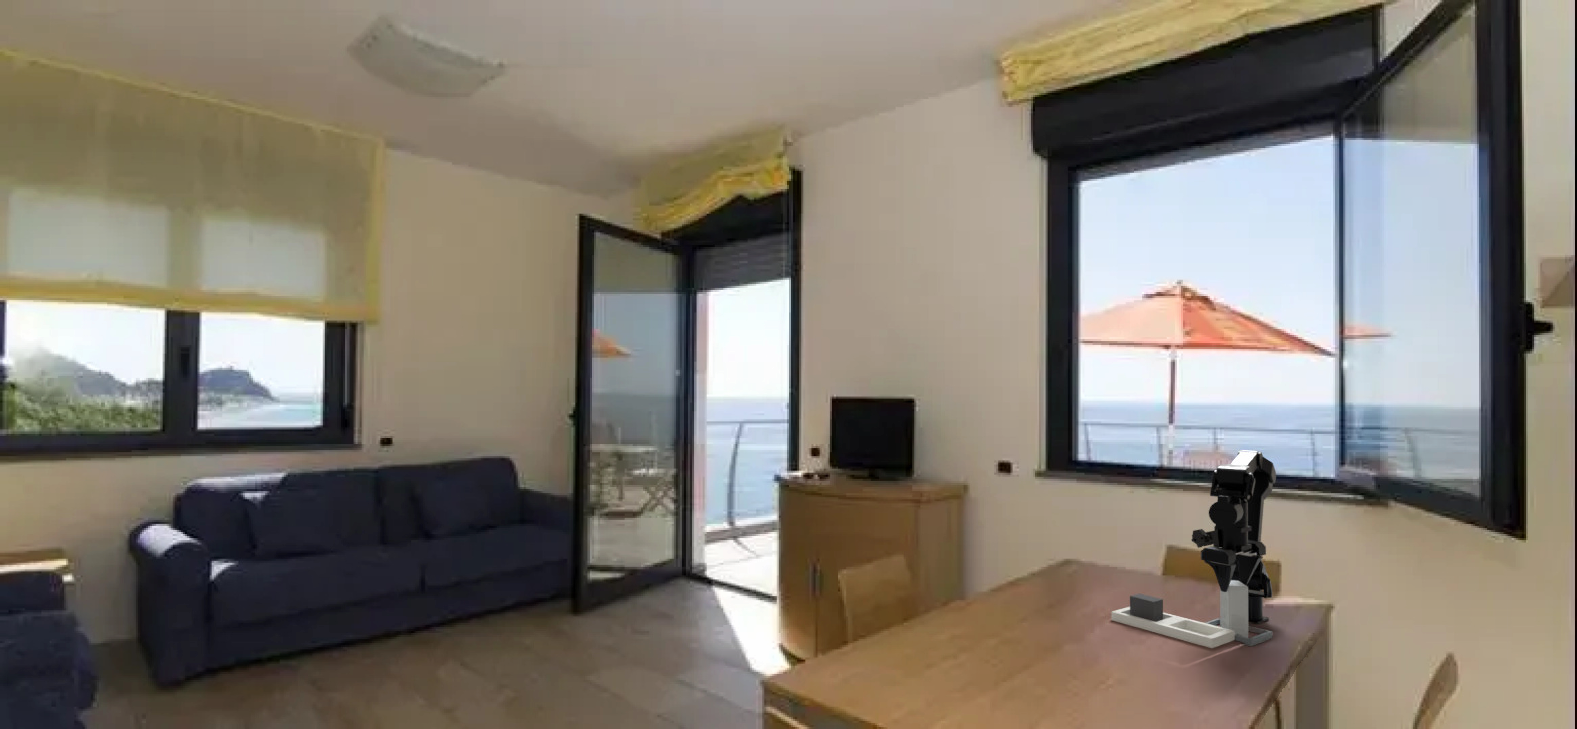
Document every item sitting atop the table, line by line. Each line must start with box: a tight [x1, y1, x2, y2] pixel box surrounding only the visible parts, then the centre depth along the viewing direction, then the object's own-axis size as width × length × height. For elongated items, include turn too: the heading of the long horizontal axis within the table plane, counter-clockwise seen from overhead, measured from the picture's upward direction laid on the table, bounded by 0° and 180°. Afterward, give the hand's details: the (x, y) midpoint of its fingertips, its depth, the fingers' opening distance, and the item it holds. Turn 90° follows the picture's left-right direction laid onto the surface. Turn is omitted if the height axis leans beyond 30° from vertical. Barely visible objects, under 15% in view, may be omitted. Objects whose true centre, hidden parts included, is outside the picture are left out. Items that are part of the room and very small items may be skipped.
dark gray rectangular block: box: [1129, 593, 1164, 622], centre depth 187 cm, size 4×6×6 cm, turn 35°
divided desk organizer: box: [1110, 606, 1236, 649], centre depth 182 cm, size 10×24×2 cm, turn 35°
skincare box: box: [1219, 580, 1249, 638], centre depth 180 cm, size 6×4×12 cm
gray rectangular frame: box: [1205, 617, 1273, 647], centre depth 180 cm, size 10×12×2 cm
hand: (1233, 588), depth 180 cm, fingers open, 9 cm apart
